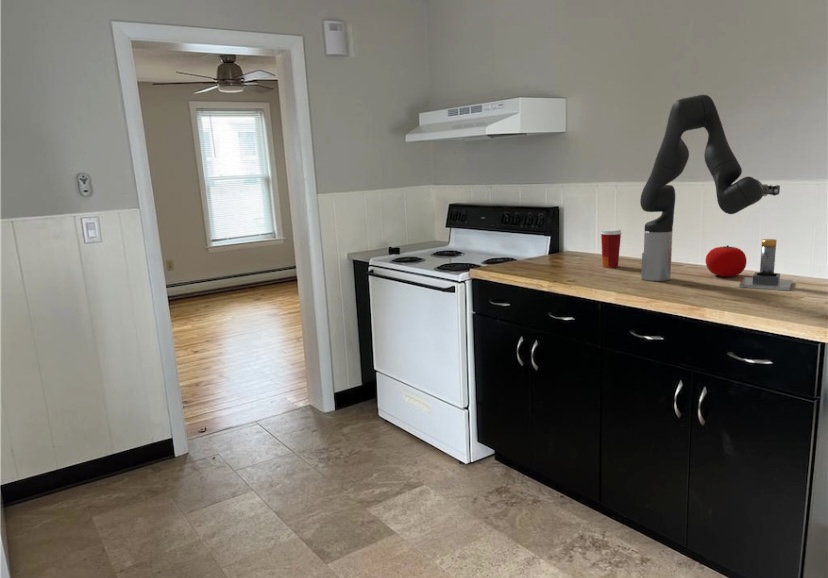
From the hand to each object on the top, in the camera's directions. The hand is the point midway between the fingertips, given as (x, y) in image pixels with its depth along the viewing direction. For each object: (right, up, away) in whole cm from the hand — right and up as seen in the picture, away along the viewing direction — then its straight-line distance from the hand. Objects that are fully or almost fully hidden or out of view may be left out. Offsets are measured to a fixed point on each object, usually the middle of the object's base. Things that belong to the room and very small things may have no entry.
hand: (753, 189), depth 185 cm
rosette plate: (+13, -29, +15) cm, 35 cm away
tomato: (+8, -26, +34) cm, 43 cm away
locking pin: (+12, -28, +15) cm, 34 cm away
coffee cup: (-24, -21, +63) cm, 70 cm away
